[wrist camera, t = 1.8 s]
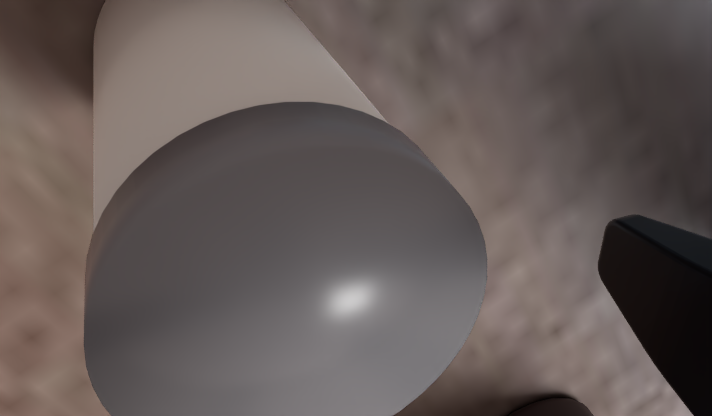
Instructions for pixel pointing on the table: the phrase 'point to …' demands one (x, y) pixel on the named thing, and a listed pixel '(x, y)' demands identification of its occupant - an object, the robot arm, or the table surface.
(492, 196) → the table surface
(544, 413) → the vinegar
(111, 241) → the shaker
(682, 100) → the table surface
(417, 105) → the table surface
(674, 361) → the robot arm
